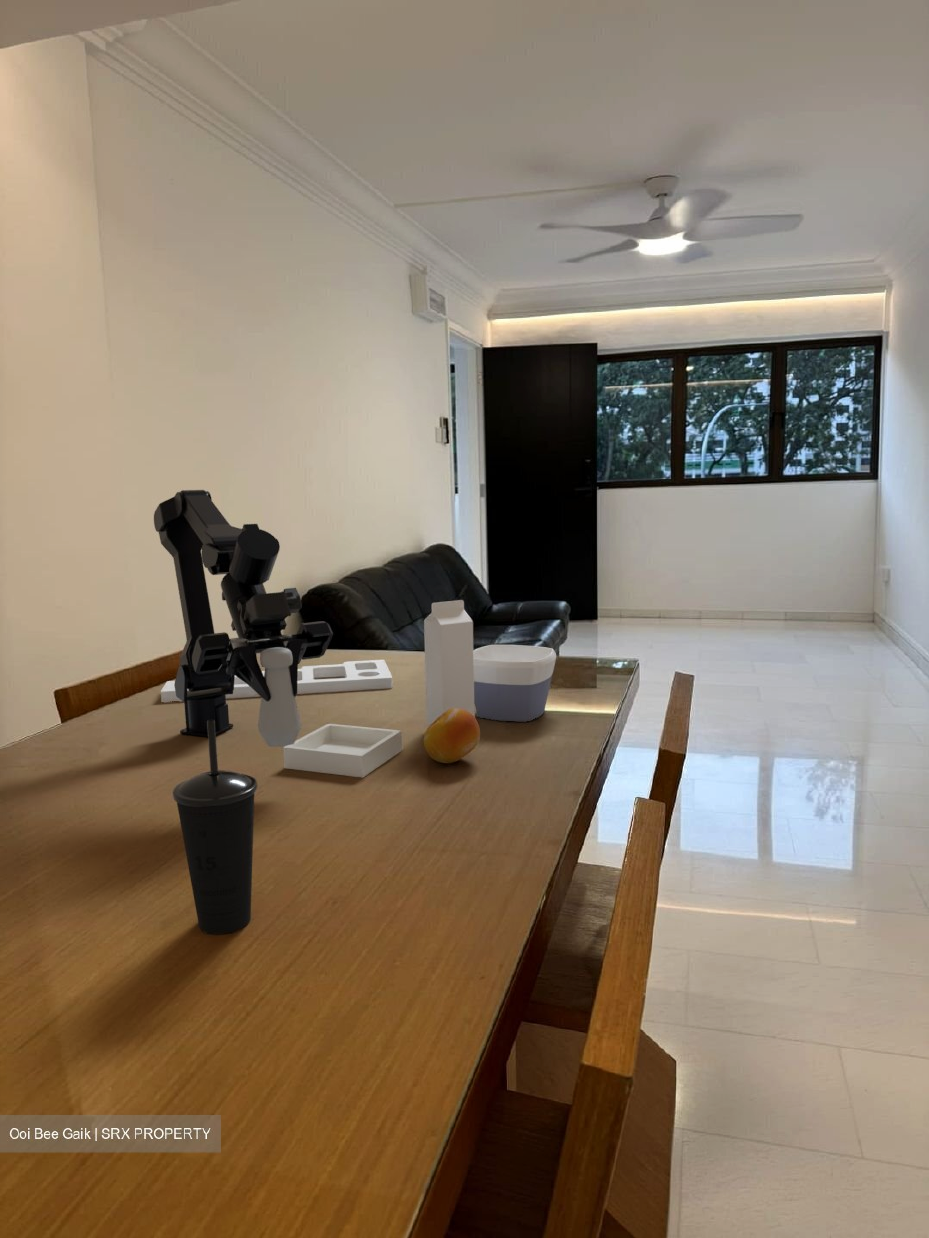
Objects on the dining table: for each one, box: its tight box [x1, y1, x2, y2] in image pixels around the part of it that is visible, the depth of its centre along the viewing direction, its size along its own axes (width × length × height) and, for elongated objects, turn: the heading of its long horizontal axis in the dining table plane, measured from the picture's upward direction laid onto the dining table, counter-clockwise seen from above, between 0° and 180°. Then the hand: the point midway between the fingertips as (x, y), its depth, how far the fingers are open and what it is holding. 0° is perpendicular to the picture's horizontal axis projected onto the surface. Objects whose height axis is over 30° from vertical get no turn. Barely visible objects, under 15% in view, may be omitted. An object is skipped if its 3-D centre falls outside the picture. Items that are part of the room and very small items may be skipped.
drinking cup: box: [172, 720, 258, 935], centre depth 82 cm, size 8×8×20 cm
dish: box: [282, 723, 403, 778], centre depth 131 cm, size 13×13×3 cm
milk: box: [423, 599, 476, 730], centre depth 142 cm, size 6×6×22 cm
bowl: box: [473, 644, 557, 723], centre depth 154 cm, size 15×15×11 cm
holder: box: [160, 659, 394, 703], centre depth 180 cm, size 45×18×3 cm, turn 101°
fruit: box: [423, 708, 481, 764], centre depth 128 cm, size 8×9×8 cm
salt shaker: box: [257, 647, 302, 748], centre depth 117 cm, size 6×6×13 cm
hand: (282, 697), depth 116 cm, fingers closed on salt shaker, 3 cm apart
